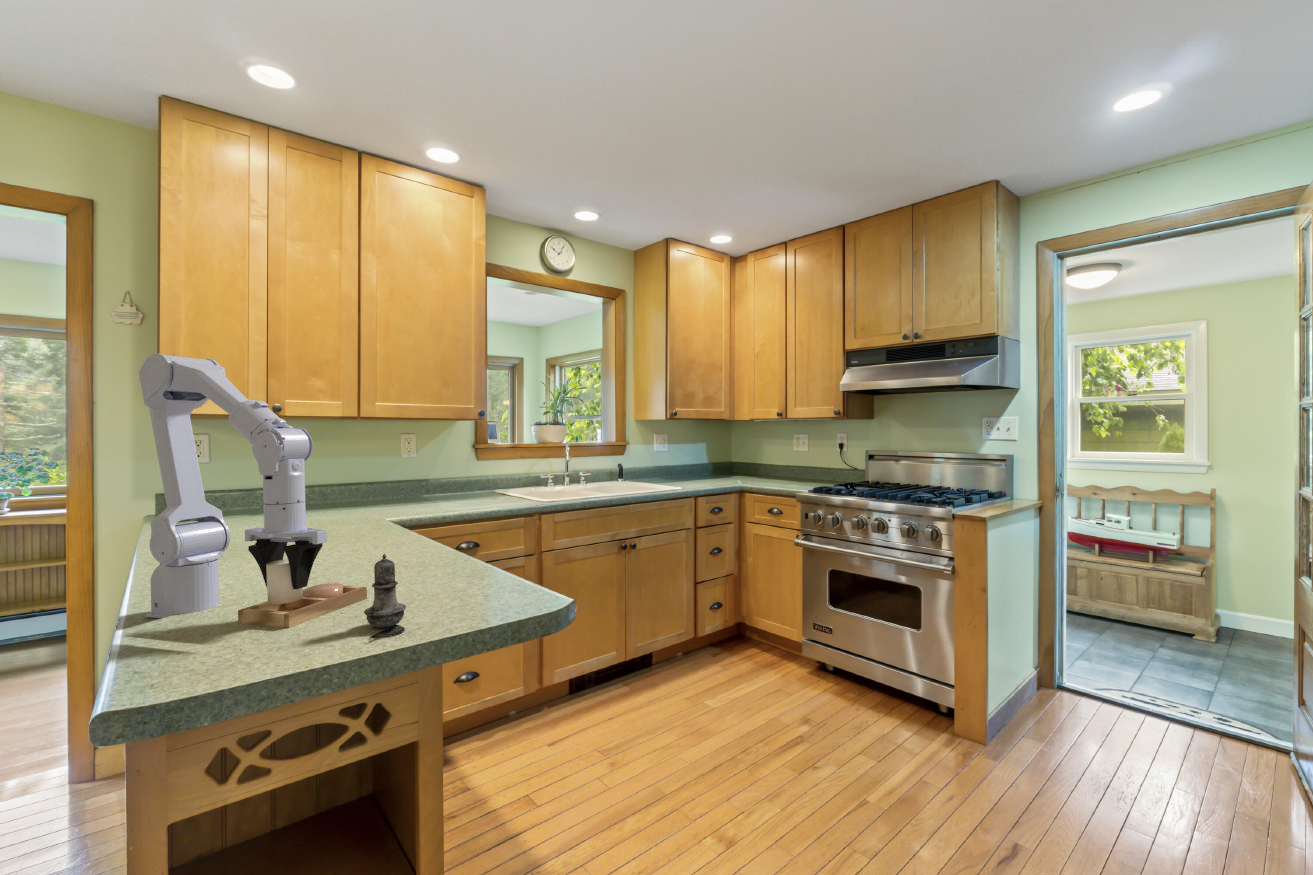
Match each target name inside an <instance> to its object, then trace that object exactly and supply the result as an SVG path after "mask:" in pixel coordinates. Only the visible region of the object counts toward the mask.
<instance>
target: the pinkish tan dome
mask: <svg viewBox="0 0 1313 875" xmlns="http://www.w3.org/2000/svg"><path fill="white" fill-rule="evenodd" d="M343 586H344V585H343V583H336V582H335V583H334V582H332V583H331V582H328V583H321V584H316V585H311V586H310V587H307V588H305V589H306V597H314V598H328V599H329V598H331V597H334V596H337V595H340V594H343Z"/></svg>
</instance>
